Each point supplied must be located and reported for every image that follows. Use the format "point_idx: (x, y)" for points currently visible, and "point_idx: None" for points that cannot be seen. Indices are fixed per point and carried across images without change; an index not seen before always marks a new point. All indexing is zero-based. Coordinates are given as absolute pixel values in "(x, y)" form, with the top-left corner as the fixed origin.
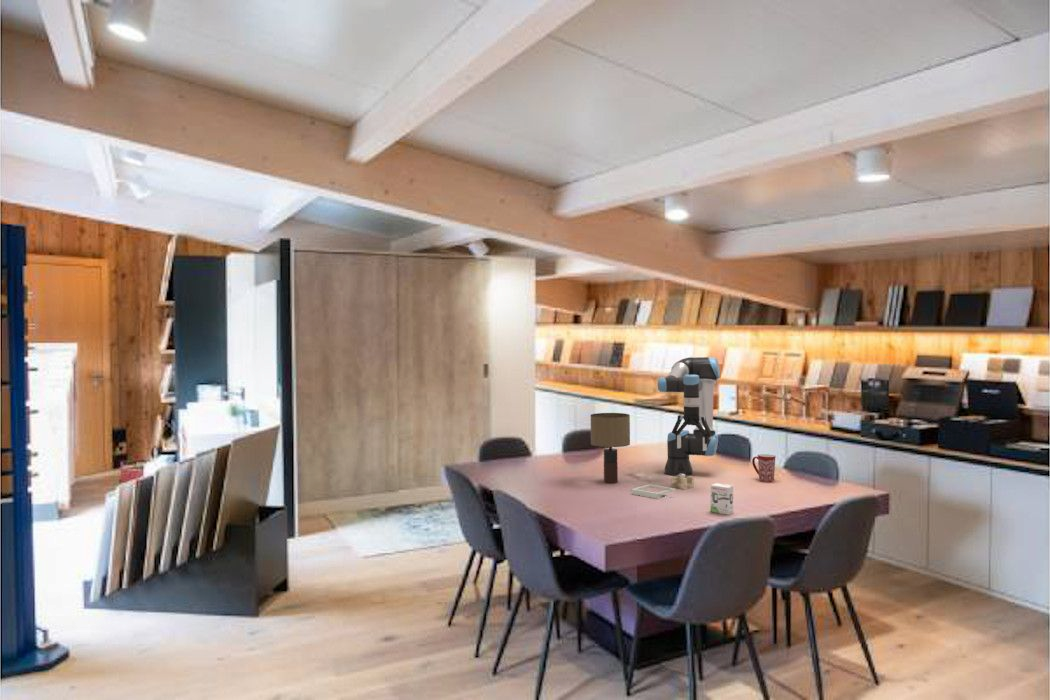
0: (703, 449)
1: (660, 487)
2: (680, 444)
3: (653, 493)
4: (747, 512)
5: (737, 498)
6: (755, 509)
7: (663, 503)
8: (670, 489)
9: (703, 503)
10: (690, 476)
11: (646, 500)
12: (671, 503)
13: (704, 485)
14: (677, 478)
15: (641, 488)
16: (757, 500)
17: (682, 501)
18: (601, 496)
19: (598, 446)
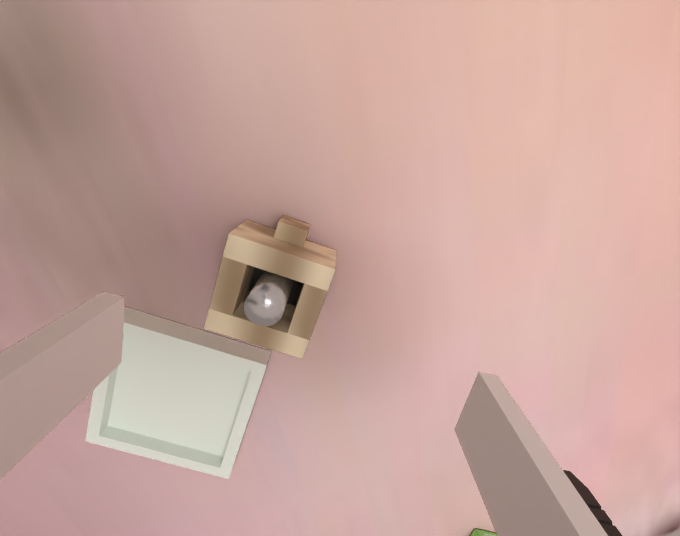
0: (467, 442)
1: (184, 349)
2: (91, 335)
3: (207, 471)
4: None
5: (560, 348)
6: (618, 485)
7: (279, 508)
8: (251, 392)
9: (422, 467)
10: (313, 271)
11: (204, 491)
12: (307, 500)
13: (370, 98)
14: (251, 342)
15: (109, 390)
16: (649, 355)
17: (338, 464)
18: (18, 490)
19: None
